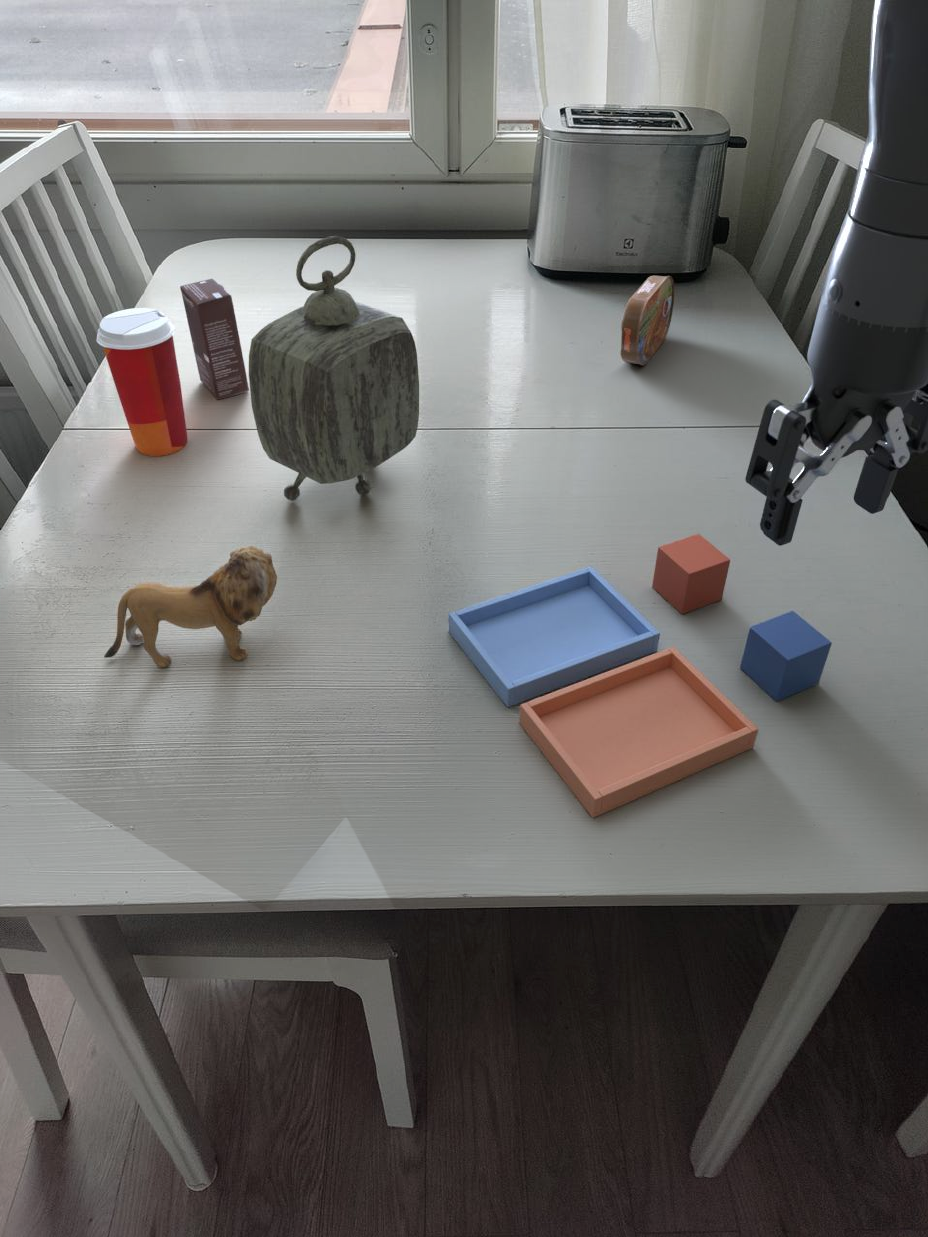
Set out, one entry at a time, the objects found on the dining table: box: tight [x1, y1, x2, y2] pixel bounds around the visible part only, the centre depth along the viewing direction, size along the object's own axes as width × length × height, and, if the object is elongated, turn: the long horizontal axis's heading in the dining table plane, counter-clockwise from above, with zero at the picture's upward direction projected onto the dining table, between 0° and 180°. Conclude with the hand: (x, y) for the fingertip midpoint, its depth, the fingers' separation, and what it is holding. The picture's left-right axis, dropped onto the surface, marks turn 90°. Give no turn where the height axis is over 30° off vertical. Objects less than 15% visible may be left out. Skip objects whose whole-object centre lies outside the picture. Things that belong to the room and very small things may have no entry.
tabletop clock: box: [248, 235, 420, 501], centre depth 90 cm, size 14×9×25 cm, turn 141°
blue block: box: [739, 610, 833, 702], centre depth 75 cm, size 4×4×4 cm
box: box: [179, 278, 250, 400], centre depth 112 cm, size 6×4×12 cm
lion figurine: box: [103, 545, 278, 668], centre depth 77 cm, size 15×5×9 cm, turn 104°
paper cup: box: [95, 307, 188, 457], centre depth 101 cm, size 8×8×14 cm
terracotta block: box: [651, 533, 731, 615], centre depth 84 cm, size 4×4×4 cm
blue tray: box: [448, 566, 661, 708], centre depth 79 cm, size 14×10×2 cm
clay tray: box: [518, 646, 759, 819], centre depth 71 cm, size 14×10×2 cm
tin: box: [619, 275, 675, 366], centre depth 121 cm, size 15×3×8 cm, turn 154°
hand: (822, 522), depth 67 cm, fingers open, 8 cm apart
